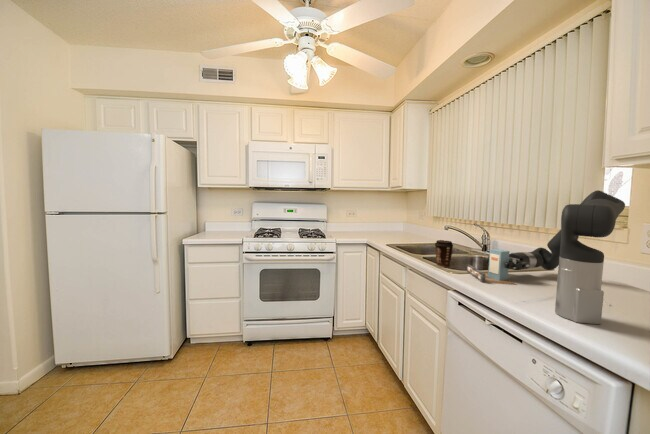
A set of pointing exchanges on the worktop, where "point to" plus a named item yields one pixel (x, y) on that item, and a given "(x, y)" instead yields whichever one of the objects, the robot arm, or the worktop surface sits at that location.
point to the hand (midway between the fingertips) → (495, 263)
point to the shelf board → (485, 276)
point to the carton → (498, 264)
